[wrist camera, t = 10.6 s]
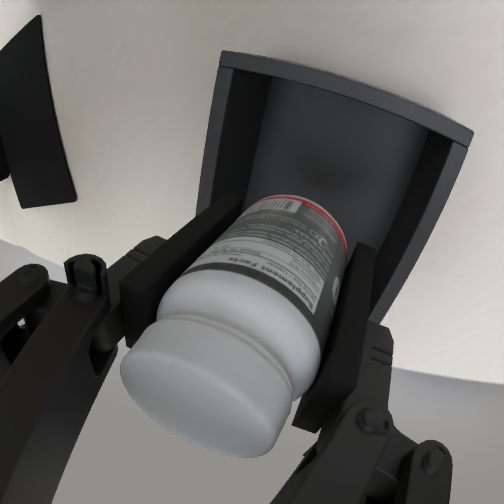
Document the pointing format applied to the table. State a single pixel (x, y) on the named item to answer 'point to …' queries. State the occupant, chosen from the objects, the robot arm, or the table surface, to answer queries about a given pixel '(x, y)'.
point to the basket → (334, 157)
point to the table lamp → (30, 124)
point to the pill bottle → (242, 329)
